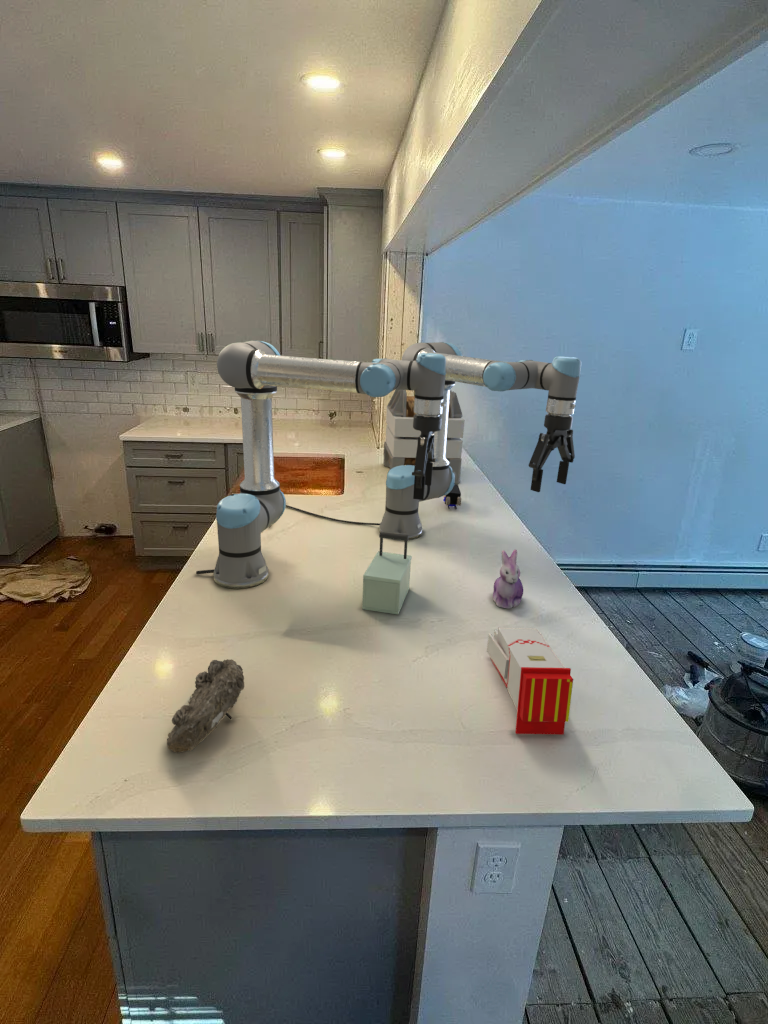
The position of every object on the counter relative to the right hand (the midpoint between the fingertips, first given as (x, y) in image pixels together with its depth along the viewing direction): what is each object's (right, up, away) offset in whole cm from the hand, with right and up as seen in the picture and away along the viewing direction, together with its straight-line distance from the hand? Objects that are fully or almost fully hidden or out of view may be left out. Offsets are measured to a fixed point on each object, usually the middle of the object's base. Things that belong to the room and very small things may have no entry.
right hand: (548, 487), depth 165 cm
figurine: (-14, -32, -9) cm, 36 cm away
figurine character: (-21, -5, +66) cm, 69 cm away
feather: (-88, -9, +47) cm, 100 cm away
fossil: (-81, -46, -57) cm, 109 cm away
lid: (-47, -23, -13) cm, 54 cm away
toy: (-19, -45, -45) cm, 67 cm away
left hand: (-37, -2, -9) cm, 39 cm away
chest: (-47, -31, -10) cm, 57 cm away
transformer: (-31, +11, +110) cm, 114 cm away
